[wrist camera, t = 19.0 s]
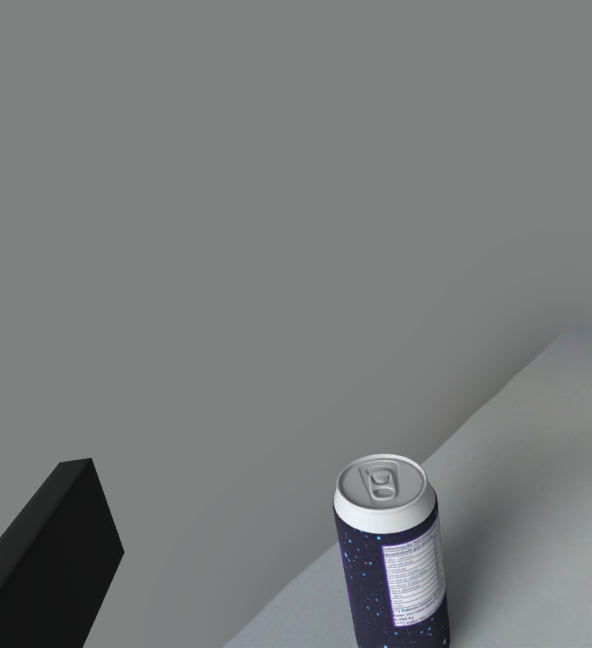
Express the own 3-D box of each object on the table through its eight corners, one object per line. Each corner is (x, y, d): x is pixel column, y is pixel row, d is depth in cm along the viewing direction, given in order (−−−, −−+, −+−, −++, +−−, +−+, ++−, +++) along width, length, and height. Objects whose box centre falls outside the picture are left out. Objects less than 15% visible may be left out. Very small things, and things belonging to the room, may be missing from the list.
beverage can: (438, 598, 32) (423, 444, 28) (463, 685, 27) (447, 509, 23) (354, 606, 33) (328, 455, 29) (361, 693, 27) (330, 521, 24)
